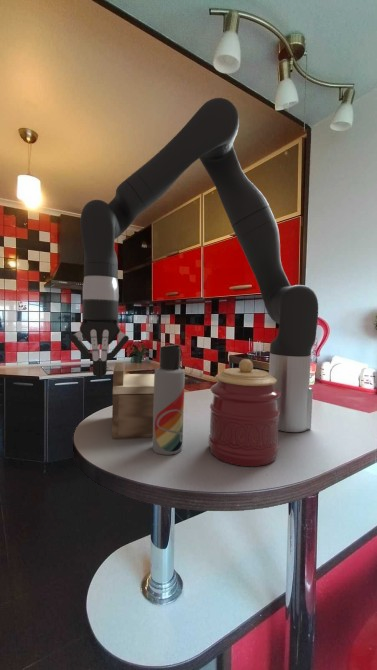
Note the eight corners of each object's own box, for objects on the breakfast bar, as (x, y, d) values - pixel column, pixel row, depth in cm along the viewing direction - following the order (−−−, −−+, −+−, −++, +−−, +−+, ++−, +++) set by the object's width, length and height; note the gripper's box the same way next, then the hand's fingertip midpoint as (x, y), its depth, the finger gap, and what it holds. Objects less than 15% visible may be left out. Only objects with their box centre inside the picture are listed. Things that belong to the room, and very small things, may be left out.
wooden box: (162, 415, 77) (163, 380, 77) (170, 436, 63) (171, 394, 63) (114, 416, 75) (115, 381, 74) (111, 439, 61) (112, 395, 61)
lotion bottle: (178, 457, 54) (181, 346, 53) (148, 453, 55) (150, 344, 54) (185, 444, 59) (188, 343, 58) (158, 441, 61) (160, 342, 60)
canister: (283, 472, 50) (288, 366, 49) (204, 463, 52) (208, 362, 51) (273, 441, 63) (277, 356, 62) (211, 435, 65) (214, 353, 64)
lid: (163, 379, 77) (164, 362, 76) (171, 393, 63) (172, 371, 63) (115, 380, 74) (115, 362, 74) (112, 394, 61) (113, 372, 60)
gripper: (65, 296, 61) (64, 381, 62) (131, 299, 63) (130, 380, 64) (71, 298, 68) (71, 374, 69) (131, 301, 71) (130, 374, 72)
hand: (99, 377), depth 67 cm, fingers closed
